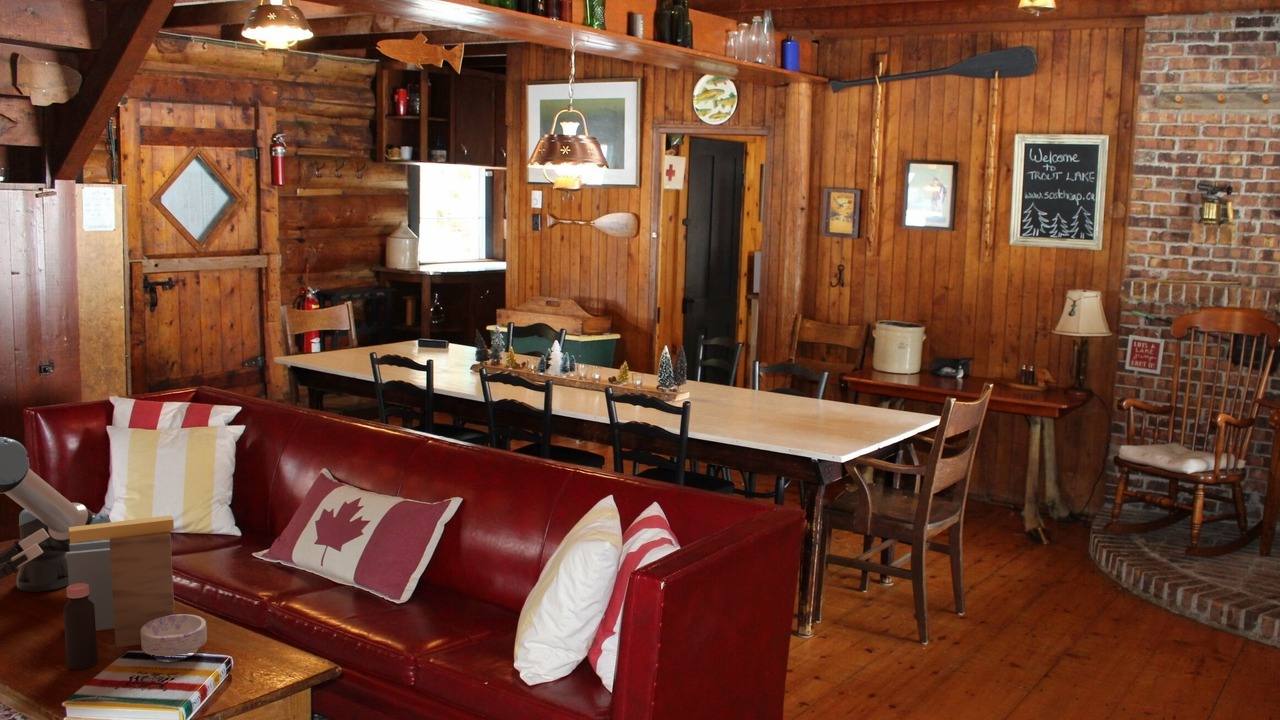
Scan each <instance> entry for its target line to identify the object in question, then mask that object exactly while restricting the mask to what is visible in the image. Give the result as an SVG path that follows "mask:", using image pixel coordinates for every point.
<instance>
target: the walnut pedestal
mask: <svg viewBox="0 0 1280 720" xmlns="http://www.w3.org/2000/svg"><path fill="white" fill-rule="evenodd" d="M171 535H172V534H171V531H168V532H160V533H151V534H143V535H135V536H126V537H118V538H110V540H109V541H110V558H111V575H112V592H113V609H114V626H115V628H114V638H115V639H114V641H115V647H116V648H120V647H128V646H129V647H130V646H137V645H141V632H140V631H141V628H142V627H143V626H144V625H145V624H146V623H148V622H149V621H152V620H154V619H157V618H160V617H164V616H169V615H176V614H175V601H174V600H175V598H174V596H175V595H174V577H173V559H172V557H173V556H172V541H171V539H172V538H171Z"/></svg>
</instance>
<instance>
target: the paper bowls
mask: <svg viewBox="0 0 1280 720" xmlns="http://www.w3.org/2000/svg"><path fill="white" fill-rule="evenodd" d="M207 631H208V629H207V621H206V620H205V618H203V617H201V616H199V615H195V614H186V613H185V614H184V613H183V614H182V613H181V614H175V615H169V616H164V617H160V618H157V619H154V620H152V621H149V622H148V623H146V624H145V625H144V626H143V627H142V628H141V631H140V632H141V644H140V645H141V650H142V651H143V652H144V654H146V655H150V656H152V655H155V656H169V655H170V656H171V655H178V654H188V653H195V654H196V653H197V652H198V650H199V649H200V648H201V647H202V646H204V645H206V643H207V639H208V637H207V636H208V634H207V633H208V632H207Z"/></svg>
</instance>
